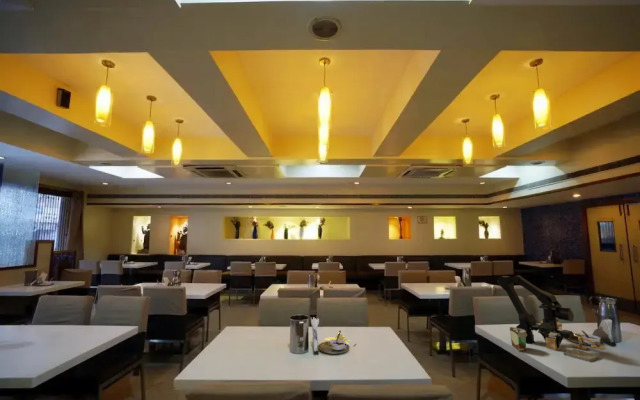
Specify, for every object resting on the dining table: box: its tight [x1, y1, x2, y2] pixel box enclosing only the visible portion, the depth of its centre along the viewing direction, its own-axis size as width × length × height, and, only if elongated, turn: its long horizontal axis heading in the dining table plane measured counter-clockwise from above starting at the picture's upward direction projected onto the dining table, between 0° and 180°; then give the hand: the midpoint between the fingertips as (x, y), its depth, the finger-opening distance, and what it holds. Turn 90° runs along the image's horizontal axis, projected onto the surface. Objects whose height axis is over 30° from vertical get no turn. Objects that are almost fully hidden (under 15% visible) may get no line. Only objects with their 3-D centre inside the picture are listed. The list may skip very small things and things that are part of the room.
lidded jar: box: [540, 320, 563, 338], centre depth 194 cm, size 11×11×9 cm
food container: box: [509, 326, 527, 353], centre depth 170 cm, size 12×6×10 cm, turn 168°
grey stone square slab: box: [563, 348, 601, 363], centre depth 158 cm, size 11×11×1 cm
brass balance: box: [572, 333, 607, 352], centre depth 170 cm, size 22×6×8 cm, turn 28°
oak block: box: [545, 336, 561, 351], centre depth 170 cm, size 4×4×6 cm
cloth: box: [324, 331, 351, 344], centre depth 183 cm, size 22×19×6 cm
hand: (553, 346), depth 170 cm, fingers closed on oak block, 4 cm apart
